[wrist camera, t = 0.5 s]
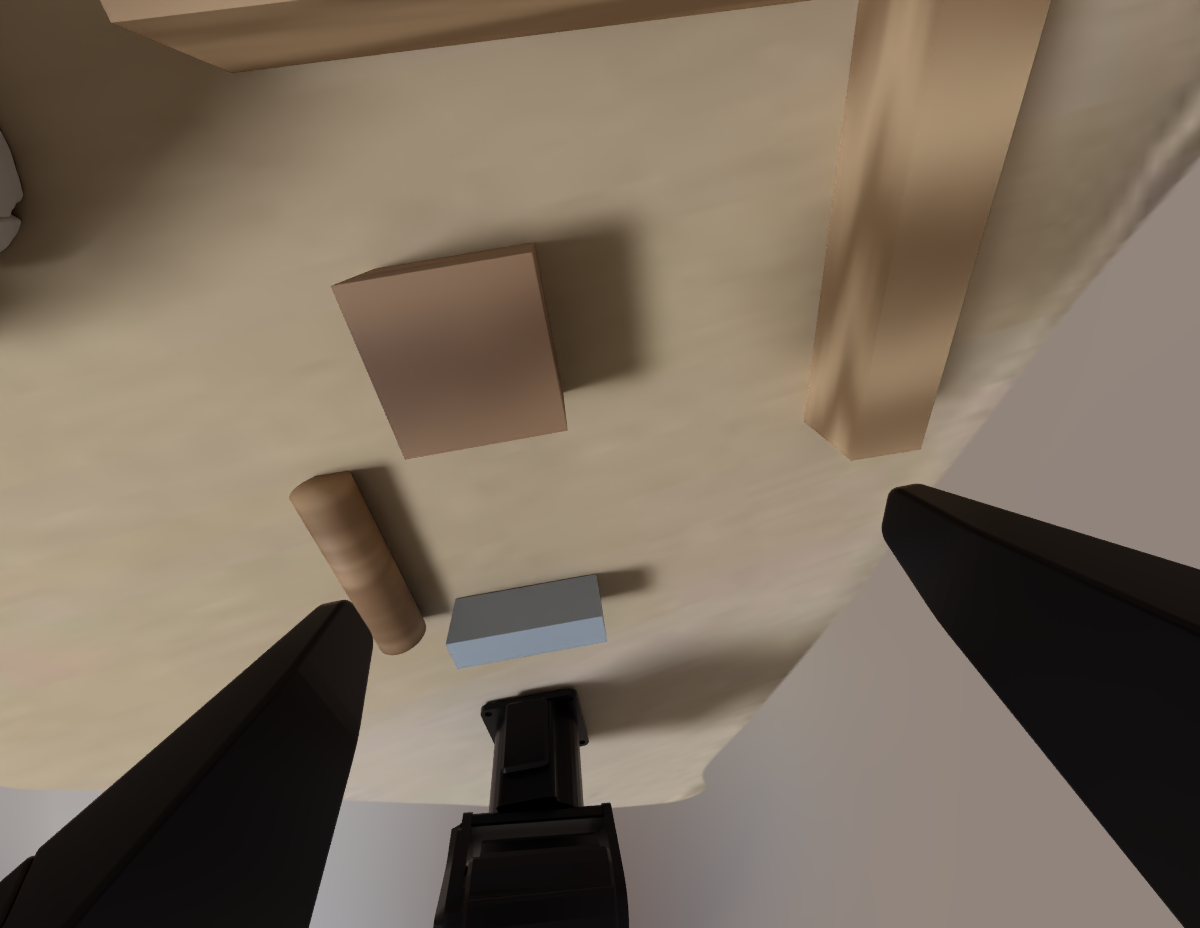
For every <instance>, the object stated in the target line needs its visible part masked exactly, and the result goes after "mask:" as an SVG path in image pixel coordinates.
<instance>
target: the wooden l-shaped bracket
mask: <svg viewBox="0 0 1200 928" xmlns="http://www.w3.org/2000/svg"><path fill="white" fill-rule="evenodd" d="M802 1H810V0H100V2H101V4H102V6H103V8H104V10H105V12H106V14H107V16H108V18H109V20H110V22H111V23H113V24H115V25H118V26H120V27H123V28H125V29H127V30H130V31H132V32H135V33H137V34H139V35H142V36H144V37H147V38H149V39H151V40H154V41H156V42H159V43H161V44H163V45H166V46H168V47H171V48H173V49H176V50H178V51H180V52H183V53H185V54H188V55H190V56H192V57H195V58H197V59H200V60H202V61H204V62H207V63H209V64H212V65H214V66H216V67H219V68H221V69H224V70H226V71H228V72H231V73H235V72H243V71H251V70H259V69H267V68H275V67H283V66H291V65H299V64H307V63H315V62H323V61H331V60H339V59H347V58H355V57H363V56H371V55H379V54H387V53H395V52H403V51H411V50H419V49H427V48H435V47H443V46H451V45H459V44H467V43H475V42H483V41H491V40H499V39H507V38H515V37H523V36H531V35H538V34H546V33H554V32H562V31H570V30H578V29H586V28H594V27H602V26H610V25H618V24H626V23H634V22H642V21H650V20H658V19H666V18H674V17H682V16H690V15H698V14H706V13H714V12H722V11H730V10H738V9H746V8H754V7H762V6H770V5H778V4H786V3H794V2H802ZM1050 3H1051V0H859V3H858V11H857V19H856V26H855V34H854V42H853V49H852V57H851V65H850V73H849V80H848V88H847V96H846V103H845V111H844V119H843V126H842V134H841V142H840V149H839V157H838V165H837V172H836V180H835V188H834V196H833V203H832V211H831V219H830V226H829V234H828V242H827V249H826V257H825V265H824V272H823V280H822V288H821V295H820V303H819V311H818V319H817V326H816V334H815V342H814V349H813V357H812V365H811V372H810V380H809V388H808V395H807V403H806V411H805V418H804V422H805V423H807V424H808V425H809V426H810V427H811V428H813V429H814V430H815V431H816V432H817V433H819V434H820V435H821V436H822V437H823V438H825V439H826V440H827V441H828V442H829V443H831V444H832V445H833V446H834V447H835V448H837V449H838V450H839V451H840V452H841V453H843V454H844V455H845V456H846V457H847V458H848V459H850V460H851V461H852V460H858V459H864V458H870V457H877V456H883V455H889V454H895V453H901V452H907V451H913V450H919V449H921V446H922V443H923V439H924V436H925V433H926V429H927V426H928V422H929V419H930V415H931V412H932V409H933V405H934V402H935V398H936V395H937V391H938V388H939V384H940V381H941V378H942V374H943V371H944V367H945V364H946V360H947V357H948V354H949V350H950V347H951V343H952V340H953V336H954V333H955V329H956V326H957V323H958V319H959V316H960V312H961V309H962V305H963V302H964V299H965V295H966V292H967V288H968V285H969V281H970V278H971V274H972V271H973V268H974V264H975V261H976V257H977V254H978V250H979V247H980V244H981V240H982V237H983V233H984V230H985V226H986V223H987V219H988V216H989V213H990V209H991V206H992V202H993V199H994V195H995V192H996V189H997V185H998V182H999V178H1000V175H1001V171H1002V168H1003V164H1004V161H1005V158H1006V154H1007V151H1008V147H1009V144H1010V140H1011V137H1012V134H1013V130H1014V127H1015V123H1016V120H1017V116H1018V113H1019V109H1020V106H1021V103H1022V99H1023V96H1024V92H1025V89H1026V85H1027V82H1028V79H1029V75H1030V72H1031V68H1032V65H1033V61H1034V58H1035V54H1036V51H1037V48H1038V44H1039V41H1040V37H1041V34H1042V30H1043V27H1044V23H1045V20H1046V17H1047V13H1048V10H1049V6H1050Z"/></svg>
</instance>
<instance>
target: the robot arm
mask: <svg viewBox="0 0 1200 928" xmlns="http://www.w3.org/2000/svg"><path fill="white" fill-rule="evenodd" d="M882 534H883V537H884V540H885V541H886V543H887V545H888V546H889V548H890V549H891V551H892V552H893V554H894V555H895V557H896V558H897V560H898V562H899V563H900V565H901V566H902V568H903V569H904V571H905V572H906V574H907V575H908V577H909V578H910V580H911V581H912V583H913V584H914V586H915V587H916V589H917V590H918V592H919V593H920V595H921V597H922V598H923V599H924V601H925V603H926V604H927V606H928V607H929V609H930V610H931V612H932V613H933V614H934V616H935V617H936V619H937V620H938V621H939V623H940V624H941V625H942V627H943V628H944V629H945V631H946V632H947V633H948V635H949V636H950V637H951V638H952V640H953V641H954V642H955V643H956V645H957V646H958V647H959V648H960V650H961V651H962V652H963V653H964V654H965V656H966V657H967V658H968V659H969V661H970V662H971V663H972V664H973V665H974V667H975V668H976V669H977V671H978V672H979V673H980V674H981V675H982V677H983V678H984V679H985V681H986V682H987V683H988V684H989V686H990V687H991V688H992V689H993V691H994V692H995V693H996V694H997V696H999V698H1000V699H1001V700H1002V702H1003V703H1004V704H1005V705H1006V706H1007V708H1008V709H1009V710H1010V712H1011V713H1012V714H1013V715H1014V717H1015V718H1016V719H1017V720H1018V721H1019V723H1020V724H1021V725H1022V727H1023V728H1024V729H1025V730H1026V732H1028V734H1029V735H1030V736H1031V738H1032V739H1033V740H1034V742H1035V743H1036V744H1037V745H1038V746H1039V748H1040V749H1041V750H1042V751H1043V753H1044V754H1045V755H1046V756H1047V758H1048V759H1049V760H1050V761H1051V763H1052V764H1053V765H1054V766H1055V767H1056V769H1057V770H1058V771H1059V772H1060V774H1061V775H1062V776H1063V778H1064V779H1065V780H1066V781H1067V783H1068V784H1069V785H1070V786H1071V787H1072V789H1073V790H1074V791H1075V793H1076V794H1077V795H1078V796H1079V798H1080V799H1081V800H1082V801H1083V803H1084V804H1085V805H1086V806H1087V807H1088V809H1089V810H1090V811H1091V812H1092V814H1093V815H1094V816H1095V817H1096V819H1097V820H1098V821H1099V822H1100V824H1101V825H1102V826H1103V827H1104V828H1105V830H1106V831H1107V832H1108V834H1109V835H1110V836H1111V837H1112V838H1113V840H1114V841H1115V842H1116V843H1117V845H1118V846H1119V847H1120V849H1121V850H1122V851H1123V852H1124V854H1125V855H1126V856H1127V857H1128V859H1129V860H1130V861H1131V862H1132V863H1133V865H1134V866H1135V867H1136V868H1137V869H1138V871H1139V872H1140V873H1141V875H1142V876H1143V877H1144V878H1145V880H1146V881H1147V882H1148V883H1149V885H1150V886H1151V887H1152V888H1153V890H1154V891H1155V892H1156V893H1157V894H1158V896H1159V897H1160V898H1161V899H1162V901H1163V902H1164V903H1165V904H1166V906H1167V907H1168V908H1169V909H1170V911H1171V912H1172V913H1173V914H1174V916H1175V917H1176V918H1177V919H1178V921H1179V922H1180V923H1181V924H1182V926H1183V927H1184V928H1200V570H1199V569H1196V568H1193V567H1190V566H1186V565H1183V564H1180V563H1177V562H1173V561H1170V560H1166V559H1164V558H1160V557H1157V556H1154V555H1151V554H1147V553H1144V552H1141V551H1138V550H1134V549H1131V548H1128V547H1124V546H1121V545H1118V544H1115V543H1111V542H1108V541H1105V540H1102V539H1098V538H1095V537H1092V536H1089V535H1085V534H1082V533H1079V532H1076V531H1072V530H1069V529H1066V528H1062V527H1059V526H1056V525H1053V524H1050V523H1046V522H1043V521H1040V520H1037V519H1033V518H1030V517H1027V516H1023V515H1020V514H1017V513H1014V512H1010V511H1007V510H1004V509H1001V508H998V507H994V506H991V505H988V504H984V503H981V502H978V501H975V500H972V499H968V498H965V497H962V496H958V495H955V494H952V493H949V492H945V491H942V490H939V489H936V488H932V487H929V486H926V485H923V484H911V485H906V486H901V487H896V488H894V489H892V490H891V491H890V493H889V494H888V498H887V502H886V507H885V512H884V517H883V522H882ZM372 650H373V637H372V634H371V631H370V629H369V628H368V626H367V625H366V623H365V622H364V620H363V618H362V617H361V615H360V614H359V612H358V611H357V609H356V608H355V606H354V605H353V603H352V602H350V601H348V600H340V601H335V602H330V603H325V604H322V605H320V606H318V607H317V608H316V609H315V610H313V611H312V612H311V613H310V614H309V615H308V616H307V617H305V618H304V619H303V620H302V621H301V622H300V623H298V624H297V625H296V626H295V627H294V628H293V629H292V630H290V631H289V632H288V633H287V634H286V635H285V636H283V637H282V638H281V639H280V640H279V641H278V642H277V643H275V644H274V645H273V646H272V647H271V648H270V649H268V650H267V651H266V652H265V653H264V654H263V655H262V656H260V657H259V658H258V659H257V660H256V661H255V662H253V663H252V664H251V665H250V666H249V667H248V668H247V669H245V670H244V671H243V672H242V673H241V674H240V675H238V676H237V677H236V678H235V679H234V680H233V681H232V682H230V683H229V684H228V685H227V686H226V687H225V688H223V689H222V690H221V691H220V692H219V693H218V694H217V695H215V696H214V697H213V698H212V699H211V700H210V701H208V702H207V703H206V704H205V705H204V706H203V707H202V708H200V709H199V710H198V711H197V712H196V713H195V714H193V715H192V716H191V717H190V718H189V719H188V720H187V721H185V722H184V723H183V724H182V725H181V726H180V727H178V728H177V729H176V730H175V731H174V732H173V733H172V734H170V735H169V736H168V737H167V738H166V739H165V740H163V741H162V742H161V743H160V744H159V745H158V746H157V747H155V748H154V749H153V750H152V751H151V752H150V753H148V754H147V755H146V756H145V757H144V758H143V759H142V760H140V761H139V762H138V763H137V764H136V765H135V766H133V767H132V768H131V769H130V770H129V771H128V772H127V773H125V774H124V775H123V776H122V777H121V778H120V779H118V780H117V781H116V782H115V783H114V784H113V785H112V786H110V787H109V788H108V789H107V790H106V791H105V792H103V793H102V794H101V795H100V796H99V797H98V798H97V799H95V800H94V801H93V802H92V803H91V804H90V805H88V807H86V808H85V809H84V810H83V811H82V812H80V813H79V814H78V815H77V816H76V817H75V818H73V819H72V820H71V821H70V822H69V823H68V824H67V825H65V826H64V827H63V828H62V829H61V830H60V831H58V832H57V833H56V834H55V835H54V836H53V837H52V838H50V839H49V840H48V841H47V842H46V843H45V844H44V845H42V846H41V847H40V848H39V849H38V851H37V852H36V855H35V856H31V857H29V858H27V859H26V860H25V861H24V862H22V863H21V864H20V865H19V866H18V867H17V868H16V869H14V871H12V872H11V873H10V874H9V875H7V876H6V877H5V878H4V879H3V880H2V881H1V882H0V928H309V924H310V921H311V917H312V913H313V909H314V905H315V902H316V898H317V894H318V890H319V887H320V883H321V879H322V875H323V871H324V868H325V864H326V860H327V856H328V852H329V849H330V845H331V841H332V837H333V833H334V829H335V826H336V822H337V818H338V815H339V810H340V807H341V803H342V799H343V796H344V792H345V788H346V784H347V780H348V777H349V773H350V769H351V765H352V761H353V757H354V753H355V749H356V745H357V741H358V736H359V730H360V725H361V719H362V712H363V706H364V700H365V694H366V687H367V681H368V675H369V669H370V662H371V656H372ZM481 717H482V719H483V721H484V723H485V725H486V727H487V730H488V732H489V734H490V736H491V738H492V740H493V742H494V744H495V747H494V758H493V770H492V781H491V793H490V804H489V813H481V814H473V812H467V813H463V819H462V823H461V824H460V825H458V826H457V827H455V828H453V829H452V831H451V838H450V845H449V852H448V859H447V864H446V869H445V874H444V878H443V883H442V887H441V892H440V896H439V901H438V906H437V910H436V914H435V919H434V927H433V928H629V916H628V915H629V914H628V900H627V891H626V884H625V877H624V871H623V866H622V861H621V855H620V850H619V844H618V839H617V834H616V829H615V823H614V818H613V813H612V807H611V803H602V804H601V805H596V806H584V804H583V790H582V775H581V761H580V746H585V745H587V744H588V743H589V738H588V733H587V729H586V725H585V721H584V718H583V714H582V710H581V706H580V703H579V699H578V695H577V692H576V691H575V690H574V689H567V690H561V691H556V692H550V693H545V694H540V695H534V696H529V697H524V698H518V699H513V700H507V701H502V702H497V703H491V704H486V705H484V706H482V708H481Z"/></svg>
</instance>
